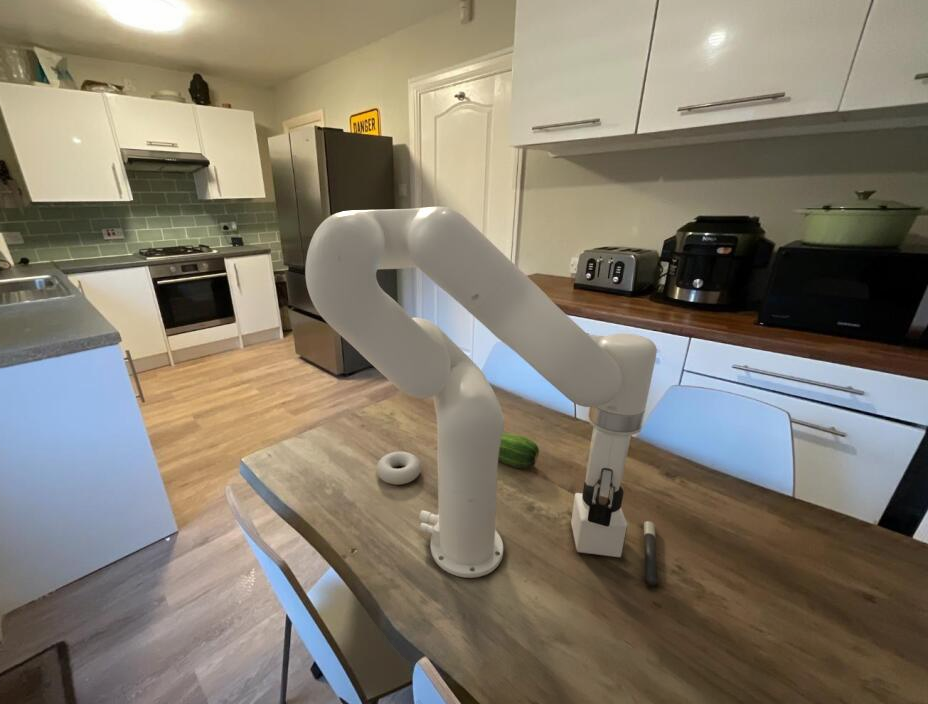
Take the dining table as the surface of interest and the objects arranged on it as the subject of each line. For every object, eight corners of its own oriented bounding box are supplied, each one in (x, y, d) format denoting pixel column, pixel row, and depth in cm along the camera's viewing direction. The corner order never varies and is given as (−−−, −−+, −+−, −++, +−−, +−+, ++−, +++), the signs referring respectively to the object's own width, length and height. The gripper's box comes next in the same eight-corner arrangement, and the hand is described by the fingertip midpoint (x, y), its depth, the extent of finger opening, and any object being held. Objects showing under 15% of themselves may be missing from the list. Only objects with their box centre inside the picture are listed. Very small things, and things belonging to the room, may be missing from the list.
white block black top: (621, 558, 68) (633, 501, 63) (576, 552, 69) (584, 496, 65) (611, 527, 74) (621, 473, 70) (570, 522, 76) (577, 469, 71)
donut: (388, 457, 98) (369, 482, 89) (388, 445, 96) (367, 468, 88) (427, 466, 94) (411, 492, 85) (427, 453, 93) (410, 478, 84)
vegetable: (534, 442, 86) (457, 415, 98) (526, 475, 86) (449, 444, 98) (546, 442, 92) (472, 417, 104) (538, 473, 92) (465, 444, 104)
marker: (652, 590, 63) (661, 586, 62) (643, 582, 63) (651, 578, 62) (649, 530, 74) (656, 525, 73) (641, 523, 74) (648, 519, 73)
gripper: (593, 388, 71) (581, 469, 77) (583, 437, 57) (570, 531, 63) (642, 395, 68) (625, 479, 74) (644, 449, 54) (623, 547, 60)
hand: (600, 503), depth 69 cm, fingers open, 9 cm apart
